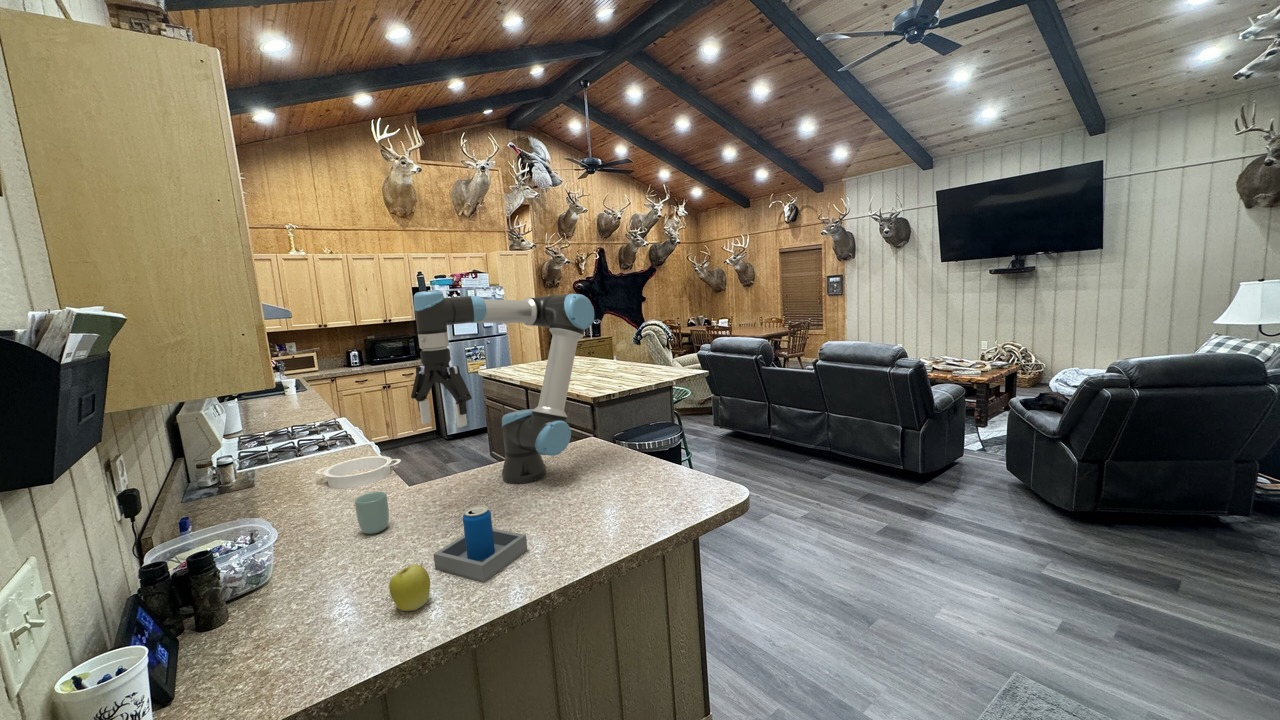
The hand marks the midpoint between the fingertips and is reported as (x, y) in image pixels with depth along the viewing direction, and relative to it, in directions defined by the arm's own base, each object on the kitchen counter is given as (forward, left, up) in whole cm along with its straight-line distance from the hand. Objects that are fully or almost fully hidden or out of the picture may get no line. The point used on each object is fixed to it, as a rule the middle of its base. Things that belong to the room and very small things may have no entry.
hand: (444, 424), depth 144 cm
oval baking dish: (-16, -64, -29) cm, 72 cm away
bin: (+13, +23, -29) cm, 39 cm away
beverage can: (+13, +22, -28) cm, 38 cm away
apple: (+33, +22, -29) cm, 49 cm away
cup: (+12, -18, -29) cm, 36 cm away
